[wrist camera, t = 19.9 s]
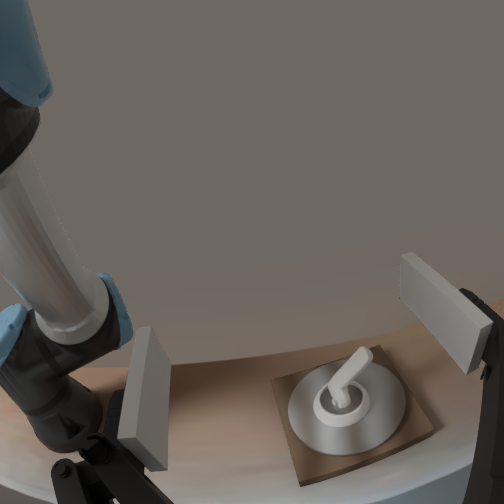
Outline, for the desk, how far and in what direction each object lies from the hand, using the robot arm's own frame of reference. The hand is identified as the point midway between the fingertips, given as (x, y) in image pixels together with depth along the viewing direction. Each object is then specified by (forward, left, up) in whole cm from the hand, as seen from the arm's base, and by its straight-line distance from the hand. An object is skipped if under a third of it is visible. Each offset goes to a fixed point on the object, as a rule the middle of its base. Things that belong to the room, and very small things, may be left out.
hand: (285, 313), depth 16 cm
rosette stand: (+7, +12, -30) cm, 33 cm away
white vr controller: (+6, +12, -27) cm, 30 cm away
